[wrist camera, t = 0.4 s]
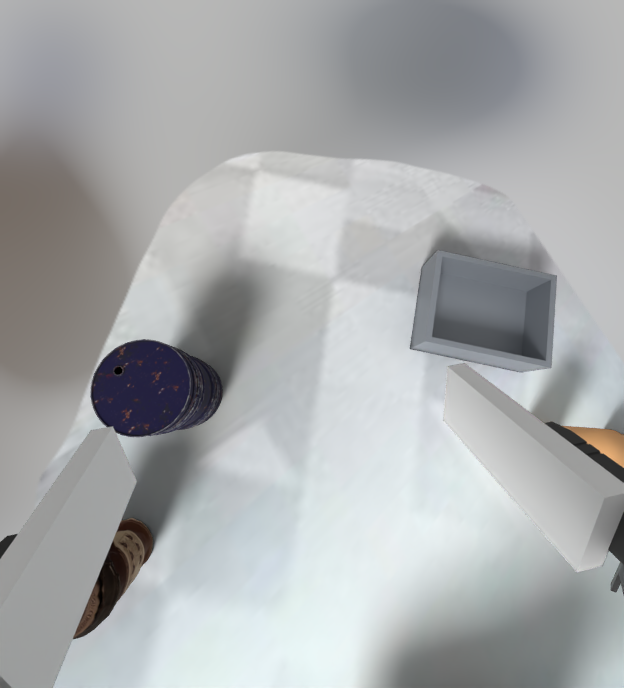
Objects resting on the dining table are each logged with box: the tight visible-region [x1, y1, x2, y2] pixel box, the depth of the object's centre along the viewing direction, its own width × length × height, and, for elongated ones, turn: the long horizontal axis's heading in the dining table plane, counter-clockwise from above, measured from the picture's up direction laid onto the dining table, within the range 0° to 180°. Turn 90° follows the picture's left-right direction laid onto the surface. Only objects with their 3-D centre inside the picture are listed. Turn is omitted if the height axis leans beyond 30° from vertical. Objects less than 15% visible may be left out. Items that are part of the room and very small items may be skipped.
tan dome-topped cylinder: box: [563, 426, 624, 468], centre depth 43 cm, size 5×5×12 cm
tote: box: [410, 250, 557, 372], centre depth 49 cm, size 18×14×6 cm
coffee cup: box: [73, 518, 153, 639], centre depth 37 cm, size 9×8×13 cm
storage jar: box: [91, 339, 222, 437], centre depth 40 cm, size 10×10×15 cm
